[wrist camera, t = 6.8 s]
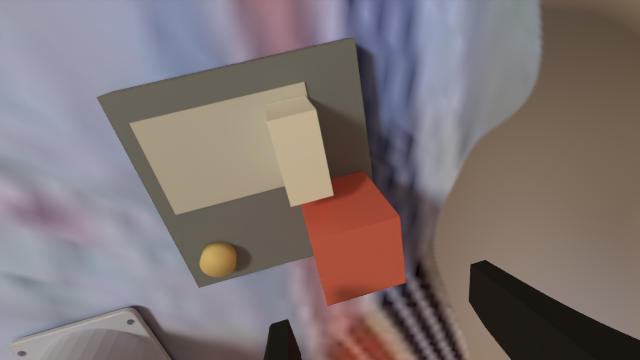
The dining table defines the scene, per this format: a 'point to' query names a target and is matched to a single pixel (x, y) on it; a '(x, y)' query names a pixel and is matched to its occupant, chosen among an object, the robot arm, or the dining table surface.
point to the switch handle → (299, 149)
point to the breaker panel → (238, 153)
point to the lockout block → (355, 239)
